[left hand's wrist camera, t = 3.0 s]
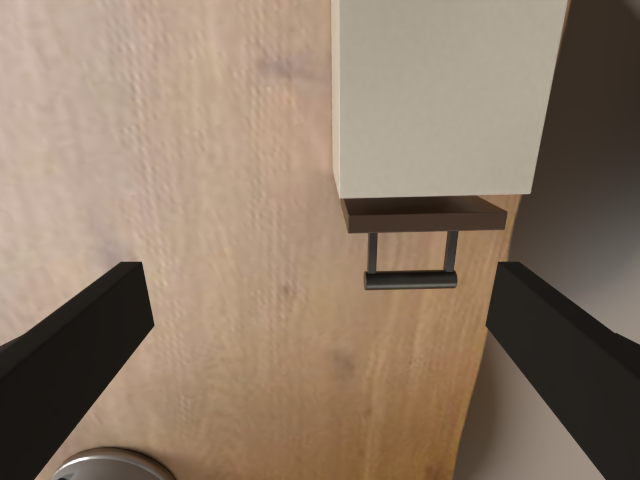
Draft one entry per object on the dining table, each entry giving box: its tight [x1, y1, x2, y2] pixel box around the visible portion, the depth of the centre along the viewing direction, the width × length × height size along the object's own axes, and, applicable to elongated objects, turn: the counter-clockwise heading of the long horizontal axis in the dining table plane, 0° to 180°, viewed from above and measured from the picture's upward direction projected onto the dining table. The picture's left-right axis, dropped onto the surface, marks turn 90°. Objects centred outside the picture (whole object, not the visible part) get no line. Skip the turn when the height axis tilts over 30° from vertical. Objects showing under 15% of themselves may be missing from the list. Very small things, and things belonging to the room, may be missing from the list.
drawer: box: [341, 195, 507, 290], centre depth 23 cm, size 23×10×8 cm, turn 1°
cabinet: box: [331, 0, 568, 198], centre depth 21 cm, size 18×11×10 cm, turn 1°
